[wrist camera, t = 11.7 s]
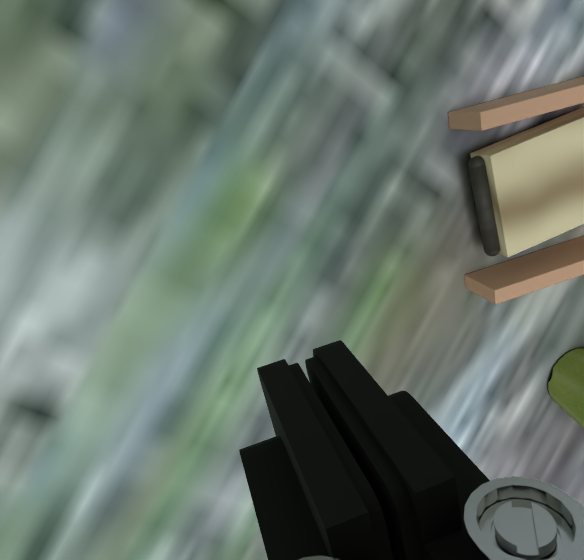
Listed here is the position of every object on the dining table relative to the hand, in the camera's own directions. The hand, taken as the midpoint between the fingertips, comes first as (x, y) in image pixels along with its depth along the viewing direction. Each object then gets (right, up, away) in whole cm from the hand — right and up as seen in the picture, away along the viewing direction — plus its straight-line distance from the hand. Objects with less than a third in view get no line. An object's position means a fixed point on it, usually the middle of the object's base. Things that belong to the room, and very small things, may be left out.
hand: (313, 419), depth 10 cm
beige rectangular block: (+18, +11, +31) cm, 38 cm away
